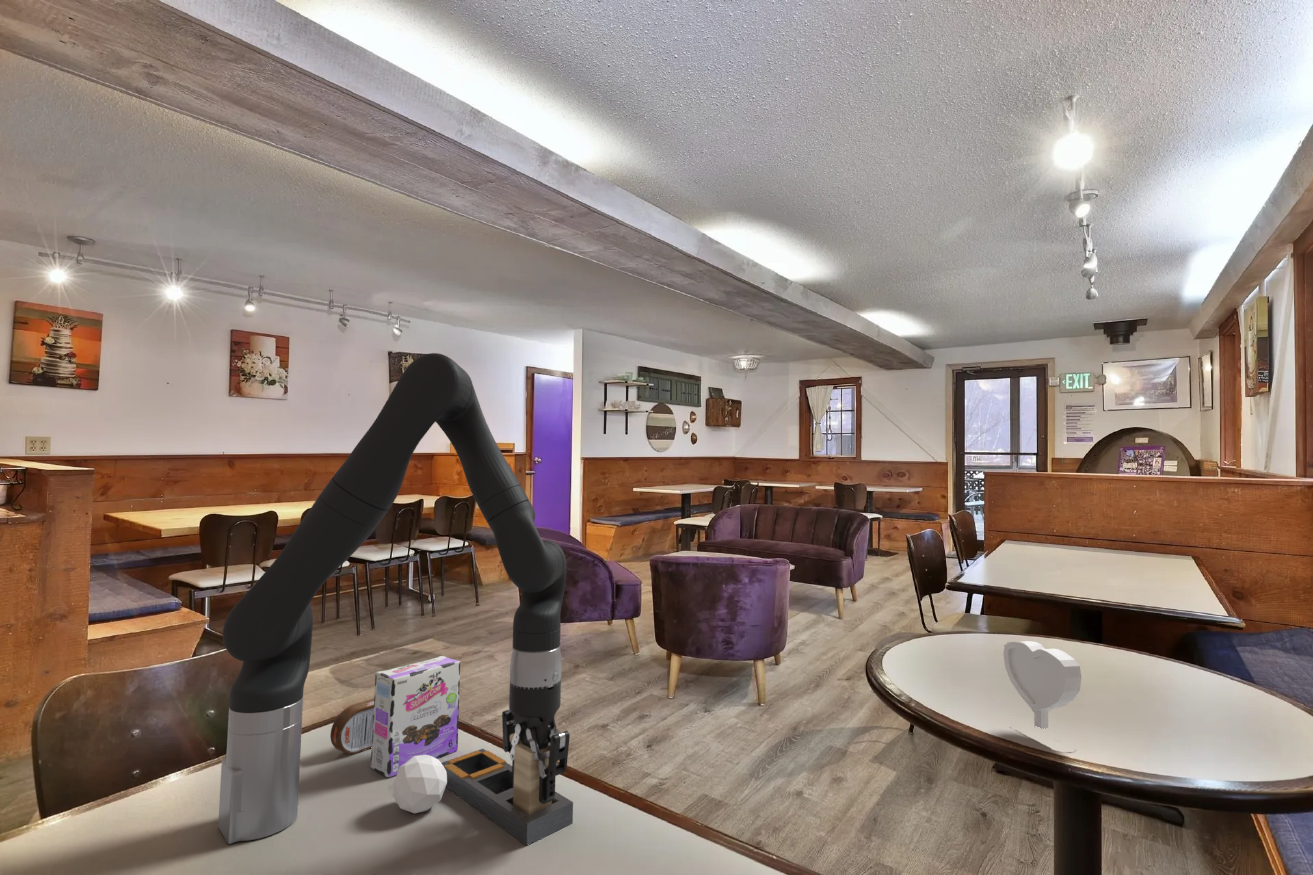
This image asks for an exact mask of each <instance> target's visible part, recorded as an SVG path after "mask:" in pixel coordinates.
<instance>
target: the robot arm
mask: <svg viewBox="0 0 1313 875" xmlns="http://www.w3.org/2000/svg"><path fill="white" fill-rule="evenodd" d="M481 407H482V406H481V404H480V402H479V399H478V396H477V393H476V390H475V387H474V384H473V381H472V378H471V377H470V375H469V374H468V372H467V371H465V369H463V367H461V366H460V365H459V364H458V363H457V362H456V361H455V360H453V359H452V358H451V357H449V356H448V355H445V354H442V353H439V352H432V353H426V354H424V355H420V356H419V357H417V358H415V359H414V360H413V361H412V362H410V364H409V365H408V366H406V367H405V370H404V371H403V372H402V374H401V376H400V377H399V379H398V380H397V383H396V384H395V385H394V387H393V390H392V391H391V393H390V395H389V396H388V398H387V400H386V402H385V404H384V405H383V407H382V408H381V410H380V411H379V413H378V415H377V417H376V419H375V420H374V421H373V423H372V424H371V426H370V427H369V428H368V429H367V431H366V432H365V433H364V435H363V436H362V438H361V439H360V440H359V441H358V443H357V444H356V445H355V447H354V448H353V449H352V451H351V452H350V454H349V455H348V457H347V458H346V459H345V460H344V462H343V463H342V465H341V466H340V467H339V469H337V471H336V472H335V473H334V475H333V476H332V478H331V479H330V480H329V482H327V484H326V486H325V487H324V488H323V490H322V491H321V492H320V494H319V495H318V497H317V498H316V499H315V501H314V503H313V504H312V505H311V507H310V508H309V510H308V512H307V513H306V514H305V516H304V517H303V518H302V520H301V522H300V523H299V525H298V526H297V527H296V529H295V530H294V531H293V533H292V535H291V536H290V538H289V539H288V541H287V542H286V544H285V546H284V547H283V549H282V550H281V552H280V554H278V556H277V557H276V559H275V560H274V561H273V563H272V564H271V565H270V566H269V567H268V568H267V569H266V571H265V572H264V573H263V574H261V577H260V578H259V579H258V580H256V581H255V583H254V584H253V585H252V586H251V587H250V589H249V590H248V591H247V592H246V593H245V594H244V595H243V596H242V597H241V599H240V600H238V602H237V603H236V604H235V605H234V606H233V607H232V608H231V610H230V611H229V613H228V614H227V616H226V619H225V621H224V625H223V628H222V640H223V645H224V647H225V650H226V651H227V653H228V654H229V655H230V656H231V657H232V658H234V659H236V660H238V661H240V662H241V661H242V666H241V668H240V671H239V674H238V676H237V677H236V678H235V681H234V682H233V684H232V686H231V687H230V690H229V696H228V697H229V698H228V701H229V702H228V721H227V723H228V724H227V740H226V741H227V742H226V757H224V758H222V759H221V767H220V785H219V786H220V790H219V803H218V804H219V805H218V806H219V807H218V820H217V821H218V822H217V823H218V824H217V825H218V827H217V828H218V829H219V831H220V832H221V835H223V837H224V839H225V841H226V843H227V844H228V845H230V844H233V843H237V842H242V841H252V840H259V839H262V838H266V837H269V836H271V835H274V834H277V833H279V832H280V831H283V830H284V829H286V828H288V827H289V826H290V825H292V824H293V823H294V822H295V821H296V820H297V817H298V810H299V794H300V793H299V791H300V790H299V789H300V788H299V787H300V770H301V769H300V768H301V752H302V751H301V750H302V749H301V748H302V747H301V746H302V728H303V710H304V708H303V707H304V706H303V704H304V689H305V684H306V681H307V678H308V675H309V670H310V664H311V655H312V654H311V652H312V642H313V641H312V640H313V630H314V629H313V628H314V618H313V616H314V615H313V609H312V605H311V602H312V601H313V598H315V596H316V594H317V593H318V591H320V590H321V587H322V586H323V585H324V584H325V583H326V581H327V580H329V578H330V577H331V576H332V575H333V574H334V573H335V572H336V571H337V570H338V569H339V568H340V567H342V565H343V564H344V563H345V562H346V561H347V560H348V559H349V558H350V557H352V555H353V554H355V552H356V551H357V550H358V549H359V548H360V547H361V546H362V545H363V544H364V543H365V542H366V540H367V539H368V538H369V537H370V536H371V535H372V534H373V533H374V531H376V529H377V527H378V526H379V524H380V523H381V521H382V520H383V518H384V517H385V516H386V514H387V513H388V512H389V510H390V508H391V507H392V505H394V503H395V501H396V499H397V497H398V494H399V492H400V490H401V489H402V488H401V487H402V486H403V483H404V480H405V476H406V474H407V471H408V466H409V464H410V461H411V458H412V457H413V453H414V452H415V450H416V449H417V447H418V445H419V443H420V442H421V440H422V439H423V438H424V437H425V435H426V434H427V433H428V432H429V430H430V429H431V428H432V426H433V425H434V424H435V423H436V424H437V425H438V427H439V428H440V429H441V430H442V431H443V433H444V434H445V436H446V437H447V438H448V440H449V442H450V443H451V445H452V446H453V448H454V450H455V453H456V454H457V456H458V459H459V461H460V464H461V466H462V469H463V473H464V475H465V479H466V482H467V485H468V487H469V489H470V492H471V494H472V497H473V498H474V501H475V503H476V505H477V507H478V509H479V511H480V512H481V514H482V515H483V517H484V519H485V521H486V523H487V525H488V526H489V528H490V529H491V531H492V533H493V536H494V539H495V544H496V547H497V551H498V554H499V555H500V556H499V557H500V559H501V563H502V565H503V568H504V570H505V572H506V574H507V576H508V577H509V579H510V580H511V581H512V584H514V585H515V586H516V587H517V588H518V589H519V590H521V599H520V603H519V605H518V607H517V609H516V611H515V612H514V614H513V615H514V616H513V621H512V648H511V649H512V650H511V655H510V660H509V661H510V663H509V664H510V665H509V690H508V691H509V696H508V699H509V701H508V709H507V710H504V711H502V713H501V722H502V723H501V724H502V746H503V747H502V748H503V749H502V750H503V751H504V753H509V759H510V761H511V766H512V785H514V753H515V745H516V744H519V743H522V744H524V745H525V746H527V747H529V748H531V750H532V755H533V759H534V761H536V762H537V763H538V767H539V771H540V775H541V776H540V777H539V802H541V803H542V804H545V803H548V802H550V801H552V800H553V799H554V796H555V792H556V776H559V775H562V774H564V773H566V772H567V769H568V768H567V767H568V757H569V746H570V736H571V735H570V732H569V731H568V730H564V731H560V730H559V729H557V723H556V718H555V716H556V713H557V712H558V711H559V709H560V708H561V696H562V654H561V612H562V607H563V606H562V605H563V601H564V600H563V599H564V596H565V587H566V580H567V570H568V569H567V566H568V565H567V558H566V555H565V552H564V551H563V549H562V547H561V546H560V545H559V544H557V542H555V541H552V540H550V539H542V538H541V535H540V534H539V531H538V528H537V527H536V524H535V519H536V512H535V509H534V507H533V504H532V503H531V501H530V499H529V497H528V496H527V494H526V492H525V490H524V488H523V487H522V485H521V483H520V481H519V480H518V478H517V476H516V475H515V472H514V471H513V470H512V467H511V466H510V464H509V463H508V461H507V459H506V457H505V456H504V455H503V452H502V451H501V449H500V447H499V445H498V444H497V442H496V440H495V438H494V436H493V433H492V432H491V430H490V428H489V425H488V423H487V421H486V418H485V416H484V413H483V410H482V408H481ZM511 735H513V737H512V740H511V737H510V736H511ZM547 746H548V747H549V749H548V751H547V752H544V753H541V752H540V750H541V749H544V748H546V747H547ZM547 757H548V758H549V763H548V767H546V764H545V758H547Z"/></svg>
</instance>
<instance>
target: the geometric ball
mask: <svg viewBox="0 0 1313 875" xmlns="http://www.w3.org/2000/svg"><path fill="white" fill-rule="evenodd" d="M441 763H442V762H441V761H440V759H439V758H437V759H436V758H434V757H432V756H429V755H419V756H414V757H412V758H411V759H410V760H408V761H407V762H406V763H404V764H403V765H402V766H400V768H399V770H398V773H397V775H395V778H394V780H393V784H392V797H393V798H394V800H395V802H396V803H397V805H398V807H399V808H400V809H401V810H404V811H407V812H410V813H413V814H418V813H419V814H420V813H423V812H427V811H428V810H429V809H431V808H432V807H434V806H435V805H436V804H437V803H439V802H440V801H441V800H442V797H443V795H444V792H445V790H446V784H447V772H446V770H445V768H444V766H443V765H442V764H441Z"/></svg>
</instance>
